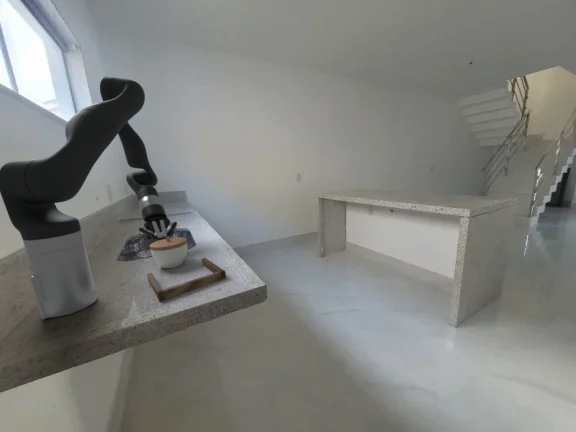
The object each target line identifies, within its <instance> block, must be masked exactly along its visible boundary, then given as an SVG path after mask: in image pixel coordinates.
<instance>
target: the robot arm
mask: <svg viewBox="0 0 576 432" xmlns="http://www.w3.org/2000/svg"><path fill="white" fill-rule="evenodd" d="M98 87H99V88H98V89H99V95H100V97H101V100H102V101H100V102H96V103H92V104H89V105H87V106H84V107H83V108H81V109H79V110H78V111H77V112H76V113H75V114H73V116H72V117H70V118H69V120H68V121H67V122H66V125H65V129H64V130H65V132H64V133H65V137H66V139H65V140H66V142H65V143H64V144H63V145H62V146H61V148H59V149H58V150H57V151H56V152H55V153H53V154H52V155H50V156H47V157H44V158H32V159H21V160H20V159H19V160H13V161H9V162H7V163H5V164H3V165H2V166H1V167H0V196H1V198H2V201H3V202H2V203H3V204H4V206H5V209H6V211H7V215H8V217H9V220H10V222H11V224H12V225H13V227H14V228H15V229H16V230H17V231H18V232H19V234H20V236H21V239H22V242H23V246H24V249H25V253H26V255H27V258H28V263H29V267H30V269H31V273H32V274H31V277H30V283H31V286H32V289H33V293H34V296H35V299H36V303H37V305H38V309H39V313H40V318H41V319H42V320H46V319H51V318H58V317H62V316H63V317H64V316H68V315H71V314H74V313H76V312H79V311H81V310H84V309H86V308H87V307H89V306H91V305H93V304H94V303H95V302H96V301H97V300H98V295H97V290H96V286H95V282H94V278H93V274H92V270H91V266H90V262H89V257H88V254H87V249H86V243H85V239H84V237H83V231H82V228H81V225H80V224H81V223H80V221H79V219H78V218H76V217H74V216H70V215H68V214H66V213H63V212H61V211H60V210H59V209H58V208H57V206H56V203H64V202H67V201H69V200H71V199H73V198H74V197H75V196H77V194H78V193H80V190H81V189H82V187H83V185H84V183H85V181H86V180H87V178H88V176H89V175H90V173H91V172H92V171H91V170H92V169H93V167H94V166H95V164H96V162H97V161H98V160H99V158H100V157H101V156H102V154H103V153H104V152H105V151H106V149H107V148H108V147H109V146H110V144H111V143H112V142H113V141H114V139H115V138H116V137H117V136H118V137H119V140H120V143H121V145H122V148H123V151H124V155H125V158H126V159H125V160H126V163H127V165H128V166H129V167H130V168H133V169H141V170H136V171H135V170H134V171H130V172H128V173H127V174H126V176H125V177H126V179H125V180H126V183H127V185H128V186H129V187H130V188H131V190H132V191H133V192H134V193H135V195H136V197H137V200H138V203H139V204H138V205H139V210H140V213H141V216H142V219H143V226H142V227H139V228H138V235H141V236H142V237H144V238H145V239H147V240H150V241H151V242H156V241H159V240H163V239H166V237H170V238H172V237H173V235H174V233H175V231H176V229H177V227H178V222H177V221H174V222H173V221H171V220H170V219H169V218H168V216H167V214H166V211H165V207H164V205H163V203H162V200H161V198H160V196H159V193H158V190H157V189H156V185H157V184H158V182H159V180H158V177H157V174H156V173H155V171H154V169H153V168H152V166H151V164H150V161H149V158H148V151H147V148H146V145H145V142H144V141H143V139H142V138H141V137H140V135H139V134H138V133H137V132H136V130H134V128H133V126H131V124H130V123H129V121H130V120H131V119H132V118H133V117H134V116H136V115H137V114H138V113H139V112H140V111H141V110H142V109H143V106H144V104H145V103H146V102H145V101H146V94H145V91H144V88H143V87H142V85H141V84H140V83H138V82H137V81H135V80H133V79H127V78H122V77H115V76H103V77H101V78H100V81H99V85H98ZM168 228H169V230H168ZM167 230H168V232H167Z"/></svg>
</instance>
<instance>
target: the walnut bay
mask: <svg viewBox="0 0 576 432" xmlns="http://www.w3.org/2000/svg"><path fill="white" fill-rule="evenodd" d="M201 265H202V266H204V268H206V269H207V270H209V271H210V272H211V273H210V274H206V275H203V276H201V277H198V278H197V277H196V278H195V279H191V280H188V281H185V282H183V283H178V284H175V285H173V286H169V287H166V288H164V289H163V288H162V286H161V285H160V283H159V282H158V280H157V279H156V277H155V275H154V274H153V272H148V273H146V277H147V281H148V283H149V285H150V287H151V288H152V290H153V292H154V294H155V297H156V298H157V299H158V301H159V302H162V301H164V300H168V299H169V298H170V299H171V298H173V297H175V296H176V297H177V296H179V295H181V294H184V293H187V292H191V291H192V290H196V289H199V288H201V287H204V286H207V285H210V284H213V283H215V282H219V281H222V280H224V279H227V275H226V274H227V272H226V270H224V269H223V268H221V267H220V266H218V265H217V264H215V263H214V262H213V261H211V260H209V259H208V258H206V257H202V258H201Z"/></svg>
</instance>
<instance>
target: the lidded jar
mask: <svg viewBox="0 0 576 432" xmlns="http://www.w3.org/2000/svg"><path fill="white" fill-rule="evenodd" d="M149 249H150V252H151V256H152V259H153V261H154V262H155V263H156V264H157V265H158V266H160V267H161V268H163V269H173V268H176V267H179V266H181V265H182V264H183V262H184V261H185V260H186V258H187V256H188V240H187V238H186V237H182V236H181V237H171V238H170V237H166V239H163V240H159V241H153V242H152V243H150V244H149Z"/></svg>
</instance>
